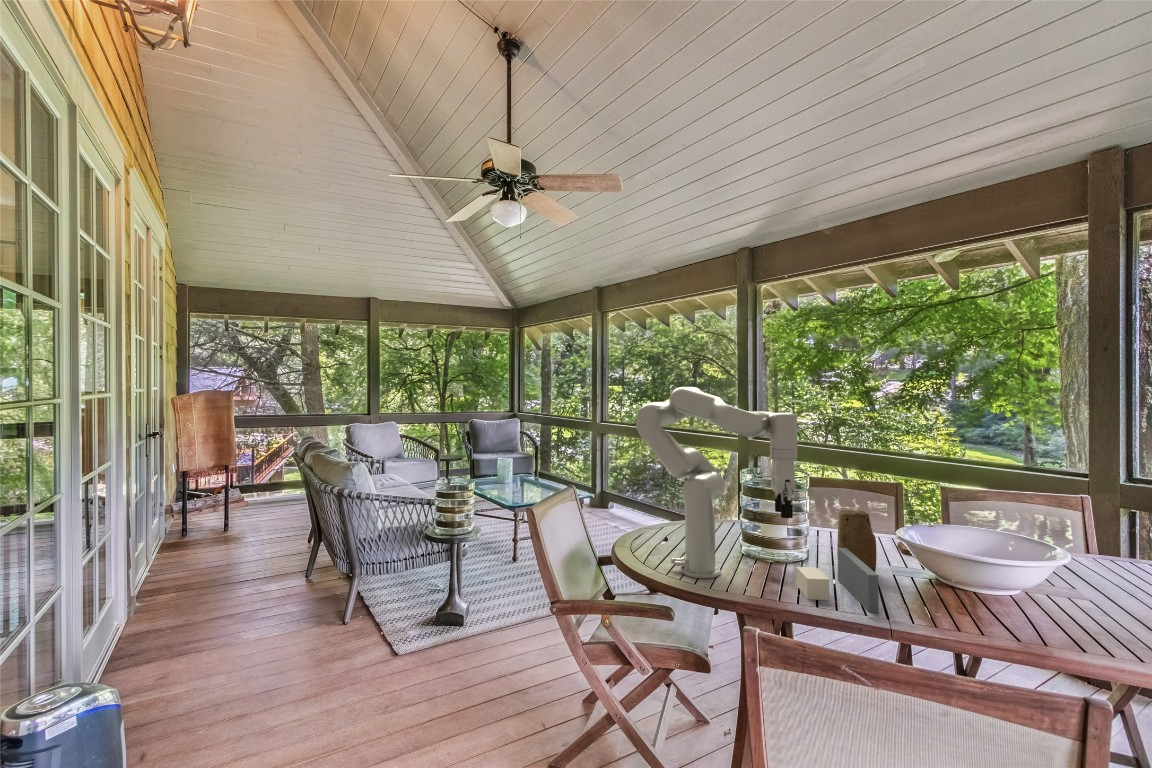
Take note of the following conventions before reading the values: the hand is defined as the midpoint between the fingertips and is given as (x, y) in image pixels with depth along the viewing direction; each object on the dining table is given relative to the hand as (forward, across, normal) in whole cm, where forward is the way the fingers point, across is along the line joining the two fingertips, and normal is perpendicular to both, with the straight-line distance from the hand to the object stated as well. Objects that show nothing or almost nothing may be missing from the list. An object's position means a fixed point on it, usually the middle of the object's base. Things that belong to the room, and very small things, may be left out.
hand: (783, 514), depth 158 cm
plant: (+23, -45, +61) cm, 79 cm away
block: (+23, -19, +27) cm, 40 cm away
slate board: (+23, 0, +20) cm, 30 cm away
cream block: (+23, 0, +8) cm, 24 cm away
